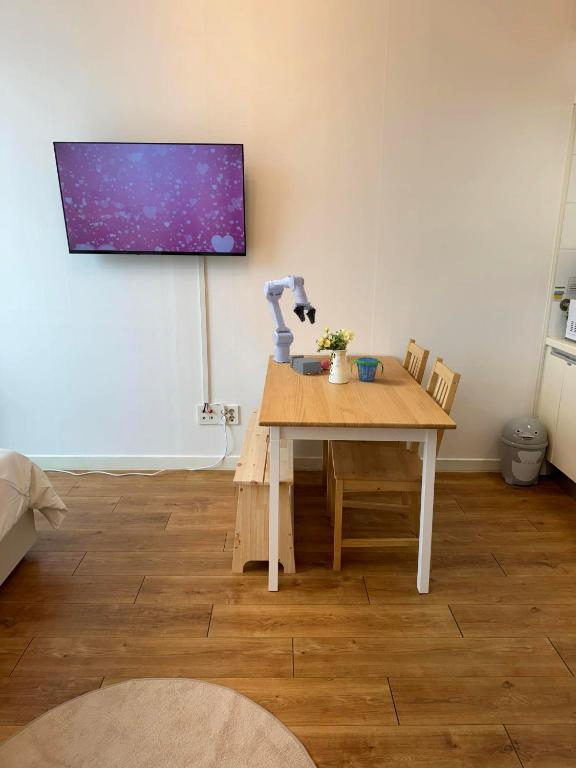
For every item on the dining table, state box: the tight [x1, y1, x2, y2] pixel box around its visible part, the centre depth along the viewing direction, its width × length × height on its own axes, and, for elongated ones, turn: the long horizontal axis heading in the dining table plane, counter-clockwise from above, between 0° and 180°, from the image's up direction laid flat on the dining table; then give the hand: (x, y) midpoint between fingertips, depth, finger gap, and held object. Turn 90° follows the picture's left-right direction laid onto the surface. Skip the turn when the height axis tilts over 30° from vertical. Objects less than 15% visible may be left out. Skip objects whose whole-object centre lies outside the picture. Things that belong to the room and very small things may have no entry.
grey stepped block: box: [289, 354, 322, 375], centre depth 286 cm, size 17×10×6 cm, turn 27°
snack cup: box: [350, 356, 384, 382], centre depth 270 cm, size 16×10×10 cm
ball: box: [321, 359, 331, 371], centre depth 288 cm, size 5×5×5 cm
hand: (308, 322), depth 277 cm, fingers open, 7 cm apart
